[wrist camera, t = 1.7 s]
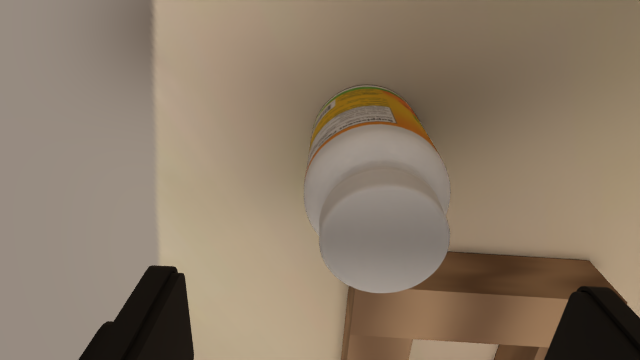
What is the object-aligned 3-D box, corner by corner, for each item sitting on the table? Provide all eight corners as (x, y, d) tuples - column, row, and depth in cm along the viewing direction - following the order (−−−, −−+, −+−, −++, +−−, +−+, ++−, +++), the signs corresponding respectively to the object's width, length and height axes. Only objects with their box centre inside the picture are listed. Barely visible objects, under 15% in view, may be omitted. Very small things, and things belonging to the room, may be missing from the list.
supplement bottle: (422, 171, 22) (481, 298, 13) (325, 189, 22) (317, 321, 14) (409, 71, 19) (470, 145, 11) (301, 95, 20) (275, 182, 11)
